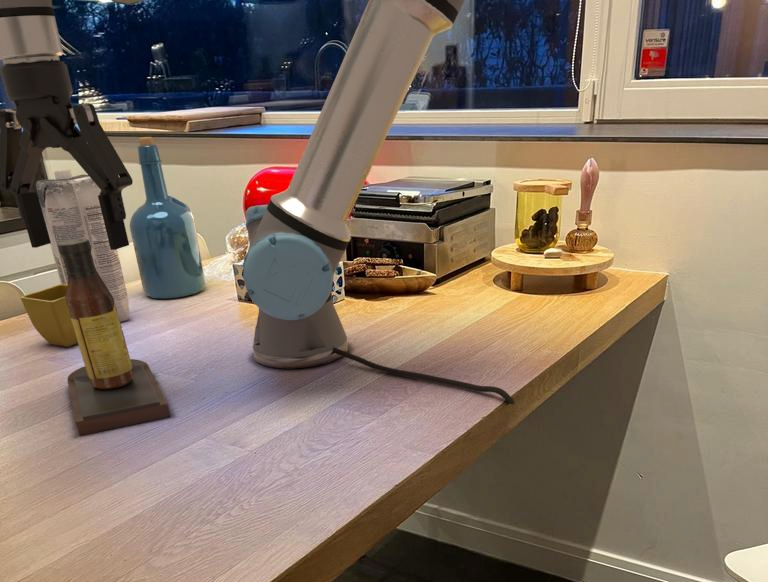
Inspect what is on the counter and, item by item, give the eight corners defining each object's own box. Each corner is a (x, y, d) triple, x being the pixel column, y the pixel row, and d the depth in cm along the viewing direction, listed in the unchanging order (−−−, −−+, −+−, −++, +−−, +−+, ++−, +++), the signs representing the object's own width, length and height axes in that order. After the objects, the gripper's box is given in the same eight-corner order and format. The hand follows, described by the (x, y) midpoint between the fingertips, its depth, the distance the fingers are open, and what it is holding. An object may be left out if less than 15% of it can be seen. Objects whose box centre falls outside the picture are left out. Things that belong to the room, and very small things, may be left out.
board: (170, 416, 107) (166, 399, 106) (79, 435, 103) (74, 418, 102) (145, 365, 126) (142, 350, 125) (68, 380, 122) (64, 364, 121)
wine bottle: (174, 303, 159) (142, 141, 144) (131, 297, 166) (95, 141, 150) (221, 286, 169) (195, 133, 153) (178, 281, 175) (149, 134, 160)
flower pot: (65, 352, 135) (50, 301, 130) (33, 346, 139) (18, 296, 134) (105, 337, 141) (92, 287, 136) (73, 332, 145) (60, 283, 141)
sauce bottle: (144, 378, 114) (111, 236, 104) (114, 393, 109) (77, 246, 99) (109, 373, 116) (74, 235, 106) (79, 388, 111) (39, 245, 101)
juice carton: (136, 320, 150) (102, 168, 136) (81, 332, 145) (40, 176, 131) (121, 311, 156) (87, 164, 142) (69, 322, 151) (28, 172, 138)
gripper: (135, 52, 90) (173, 241, 101) (-18, 66, 100) (31, 238, 111) (90, 54, 85) (135, 255, 95) (-68, 69, 94) (-11, 250, 105)
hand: (79, 246), depth 103 cm, fingers open, 13 cm apart
